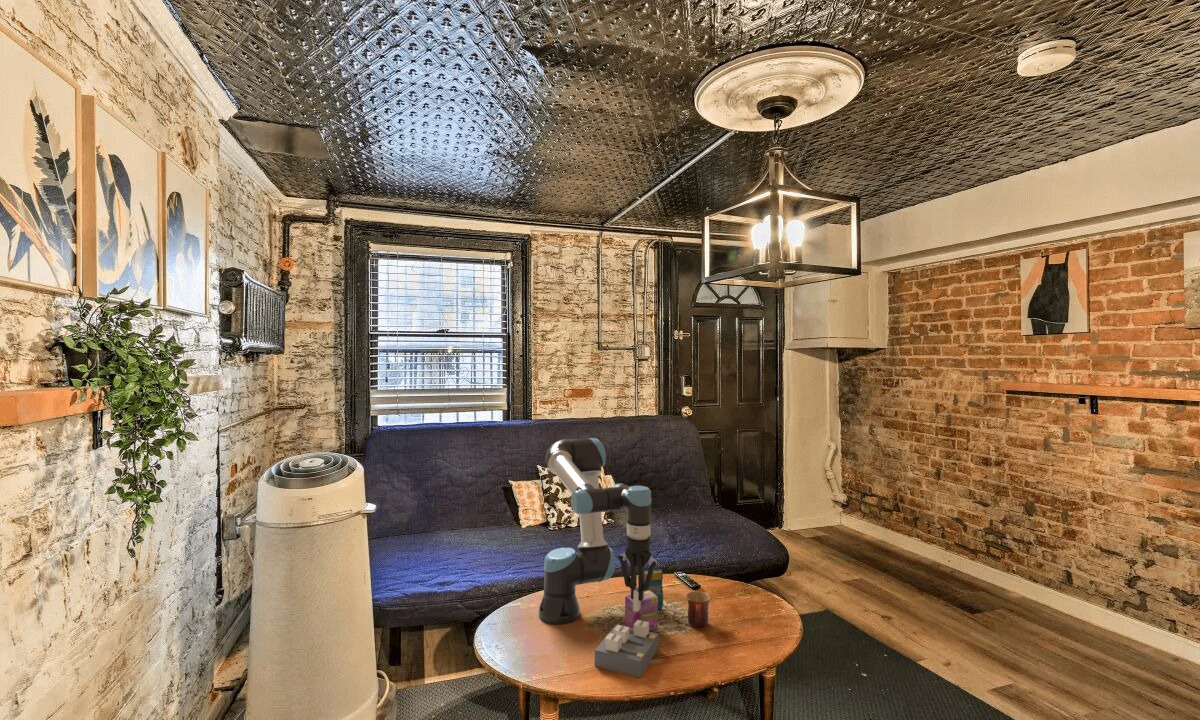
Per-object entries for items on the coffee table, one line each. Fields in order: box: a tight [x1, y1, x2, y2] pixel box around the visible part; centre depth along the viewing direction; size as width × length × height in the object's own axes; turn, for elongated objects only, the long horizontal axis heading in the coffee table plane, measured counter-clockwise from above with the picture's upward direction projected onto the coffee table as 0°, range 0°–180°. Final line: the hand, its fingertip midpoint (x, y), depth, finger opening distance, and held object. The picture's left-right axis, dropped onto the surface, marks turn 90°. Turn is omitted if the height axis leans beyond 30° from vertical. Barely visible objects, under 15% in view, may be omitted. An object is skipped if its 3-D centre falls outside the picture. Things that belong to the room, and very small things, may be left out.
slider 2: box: [614, 624, 629, 643], centre depth 177 cm, size 4×4×4 cm
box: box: [624, 590, 658, 632], centre depth 194 cm, size 10×6×12 cm, turn 117°
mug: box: [685, 590, 712, 630], centre depth 196 cm, size 12×9×10 cm
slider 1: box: [605, 633, 622, 652], centre depth 172 cm, size 4×4×4 cm
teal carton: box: [644, 568, 664, 613], centre depth 208 cm, size 10×4×15 cm, turn 108°
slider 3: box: [634, 620, 650, 638], centre depth 181 cm, size 4×4×4 cm
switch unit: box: [594, 624, 659, 679], centre depth 176 cm, size 15×18×5 cm
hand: (636, 609), depth 175 cm, fingers closed
